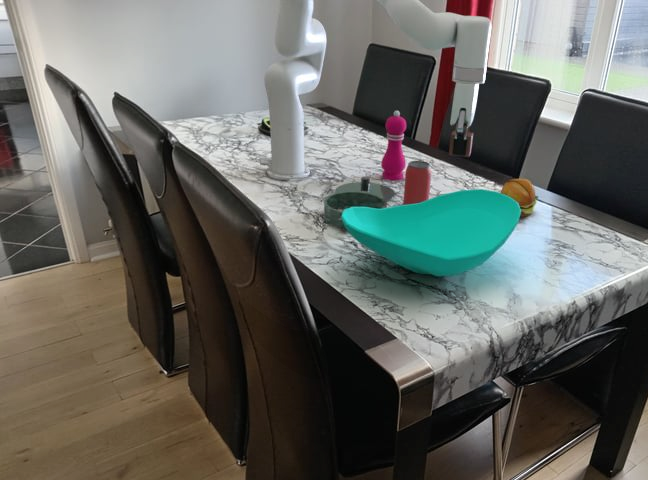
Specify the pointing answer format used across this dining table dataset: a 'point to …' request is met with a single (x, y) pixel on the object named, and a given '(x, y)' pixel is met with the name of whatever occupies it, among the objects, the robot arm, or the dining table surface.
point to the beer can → (417, 182)
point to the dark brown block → (469, 144)
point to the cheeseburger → (521, 194)
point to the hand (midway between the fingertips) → (460, 151)
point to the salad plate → (265, 127)
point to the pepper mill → (394, 148)
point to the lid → (368, 188)
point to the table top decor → (437, 230)
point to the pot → (349, 204)
